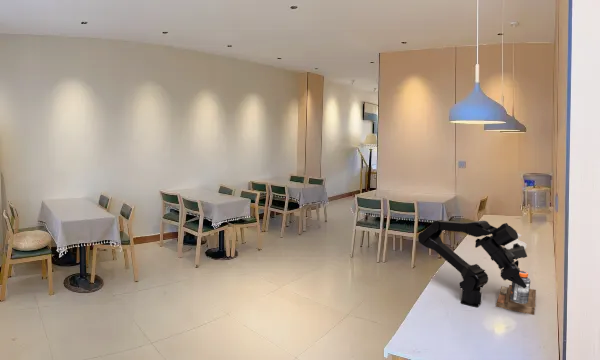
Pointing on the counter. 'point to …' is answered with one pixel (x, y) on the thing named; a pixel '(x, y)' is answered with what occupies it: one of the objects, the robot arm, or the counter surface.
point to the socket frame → (507, 303)
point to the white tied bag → (516, 242)
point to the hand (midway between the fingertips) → (525, 284)
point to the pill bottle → (521, 289)
